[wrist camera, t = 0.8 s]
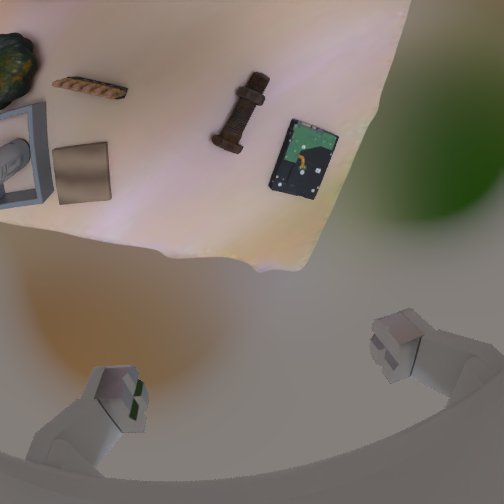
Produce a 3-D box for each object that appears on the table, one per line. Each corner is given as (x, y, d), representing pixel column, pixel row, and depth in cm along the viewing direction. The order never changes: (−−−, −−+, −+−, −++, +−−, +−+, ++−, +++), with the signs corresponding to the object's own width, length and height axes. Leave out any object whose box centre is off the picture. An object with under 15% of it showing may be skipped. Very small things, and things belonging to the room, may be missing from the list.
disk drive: (309, 195, 62) (333, 133, 54) (314, 200, 59) (340, 136, 52) (266, 185, 58) (290, 117, 50) (270, 190, 56) (295, 119, 48)
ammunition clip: (72, 86, 36) (45, 89, 26) (75, 76, 35) (49, 77, 25) (124, 98, 40) (109, 102, 31) (128, 88, 40) (114, 90, 30)
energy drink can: (21, 131, 36) (-21, 153, 24) (36, 153, 40) (-1, 180, 28) (4, 152, 37) (-36, 179, 25) (19, 173, 40) (-18, 205, 28)
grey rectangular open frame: (-9, 116, 32) (-25, 122, 27) (45, 101, 35) (32, 105, 31) (2, 198, 41) (-10, 211, 37) (53, 190, 45) (43, 203, 40)
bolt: (260, 77, 46) (225, 145, 52) (242, 66, 42) (205, 139, 48) (282, 84, 43) (245, 157, 49) (265, 71, 39) (225, 150, 45)
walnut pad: (54, 148, 41) (52, 150, 40) (107, 141, 44) (105, 143, 43) (62, 201, 47) (59, 204, 46) (111, 197, 50) (110, 200, 49)
